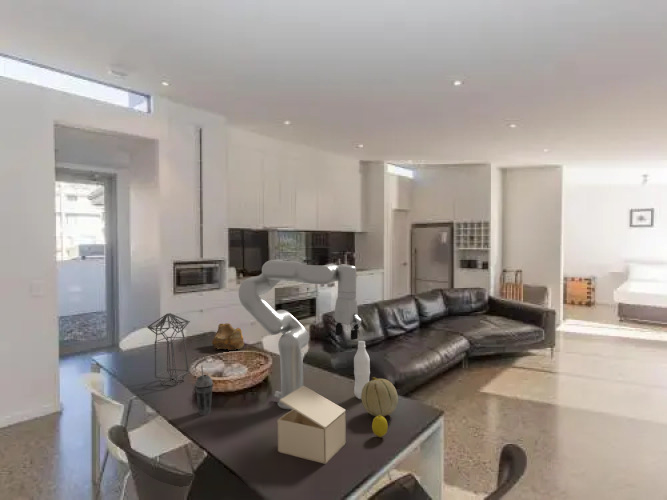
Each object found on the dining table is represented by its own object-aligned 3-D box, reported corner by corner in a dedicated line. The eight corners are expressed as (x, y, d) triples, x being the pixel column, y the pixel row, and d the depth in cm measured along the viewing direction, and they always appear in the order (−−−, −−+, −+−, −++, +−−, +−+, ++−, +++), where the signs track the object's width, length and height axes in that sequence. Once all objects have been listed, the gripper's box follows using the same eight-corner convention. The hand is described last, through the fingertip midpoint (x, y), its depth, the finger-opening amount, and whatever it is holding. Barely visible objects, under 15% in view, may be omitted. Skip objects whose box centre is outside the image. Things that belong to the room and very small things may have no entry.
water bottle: (369, 400, 192) (368, 343, 191) (353, 399, 193) (352, 343, 192) (371, 394, 199) (370, 339, 198) (355, 393, 200) (354, 339, 199)
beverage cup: (217, 410, 184) (216, 362, 183) (207, 417, 177) (205, 368, 176) (202, 408, 186) (201, 361, 185) (191, 415, 179) (190, 366, 178)
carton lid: (279, 401, 146) (280, 399, 146) (302, 386, 160) (303, 385, 160) (324, 428, 139) (325, 427, 139) (345, 411, 152) (345, 409, 152)
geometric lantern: (175, 389, 209) (171, 316, 208) (148, 387, 214) (144, 316, 213) (195, 378, 224) (191, 310, 223) (170, 376, 229) (166, 310, 228)
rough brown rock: (205, 349, 287) (203, 326, 286) (227, 342, 299) (226, 320, 297) (223, 357, 271) (221, 333, 269) (246, 349, 282) (244, 326, 280)
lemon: (371, 434, 160) (370, 412, 159) (386, 433, 160) (385, 411, 160) (373, 441, 154) (373, 418, 154) (389, 440, 155) (389, 418, 154)
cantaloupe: (393, 425, 167) (393, 386, 166) (356, 420, 172) (356, 382, 171) (401, 410, 181) (401, 374, 180) (367, 406, 186) (366, 370, 185)
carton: (278, 452, 148) (277, 419, 147) (301, 433, 161) (300, 403, 161) (325, 463, 139) (324, 429, 139) (345, 443, 153) (345, 412, 152)
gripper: (326, 293, 185) (326, 334, 186) (353, 299, 171) (353, 342, 172) (340, 292, 189) (340, 331, 190) (368, 297, 176) (367, 339, 177)
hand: (346, 336), depth 181 cm, fingers open, 9 cm apart
